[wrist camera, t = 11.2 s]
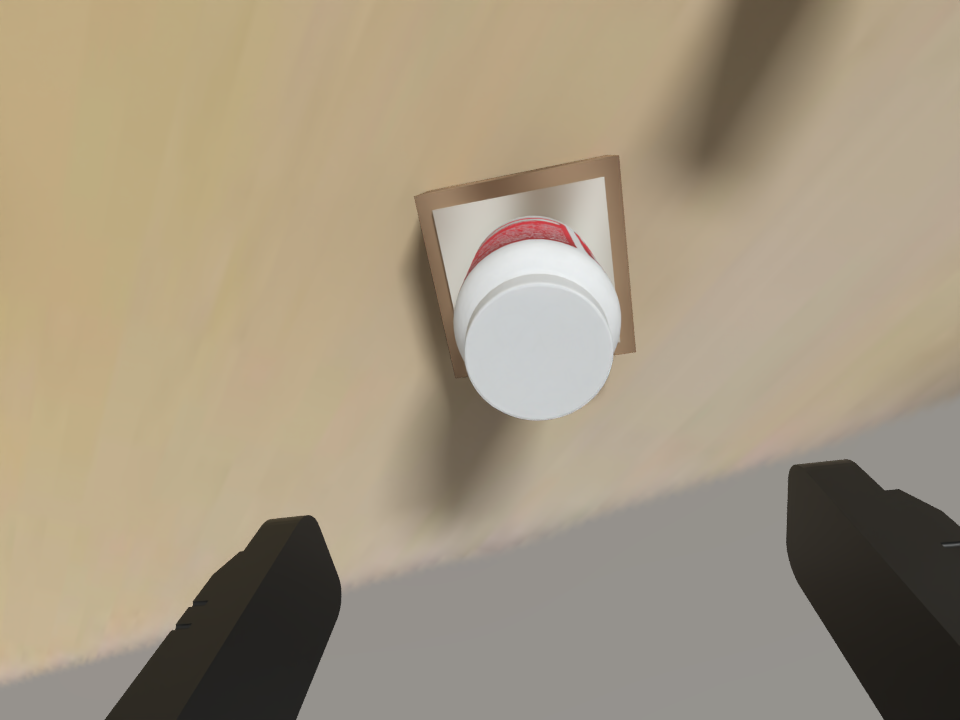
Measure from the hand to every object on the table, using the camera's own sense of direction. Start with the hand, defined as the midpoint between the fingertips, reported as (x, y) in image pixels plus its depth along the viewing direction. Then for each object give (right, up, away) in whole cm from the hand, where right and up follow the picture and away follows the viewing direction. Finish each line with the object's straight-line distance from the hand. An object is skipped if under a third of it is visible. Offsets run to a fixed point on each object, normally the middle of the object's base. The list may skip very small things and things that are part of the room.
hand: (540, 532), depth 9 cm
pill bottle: (+2, +7, +17) cm, 19 cm away
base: (+2, +9, +21) cm, 23 cm away
